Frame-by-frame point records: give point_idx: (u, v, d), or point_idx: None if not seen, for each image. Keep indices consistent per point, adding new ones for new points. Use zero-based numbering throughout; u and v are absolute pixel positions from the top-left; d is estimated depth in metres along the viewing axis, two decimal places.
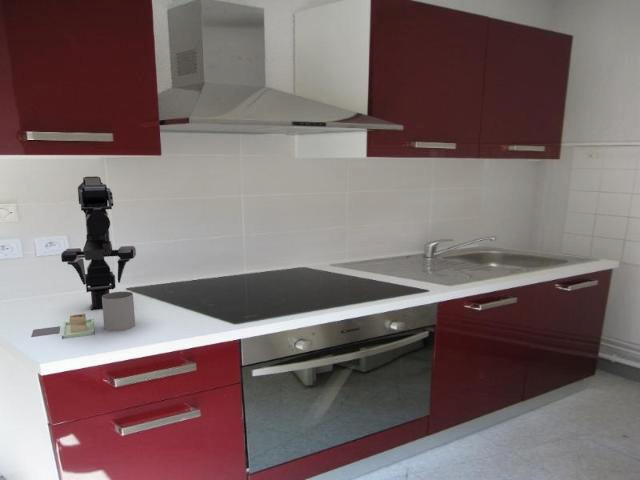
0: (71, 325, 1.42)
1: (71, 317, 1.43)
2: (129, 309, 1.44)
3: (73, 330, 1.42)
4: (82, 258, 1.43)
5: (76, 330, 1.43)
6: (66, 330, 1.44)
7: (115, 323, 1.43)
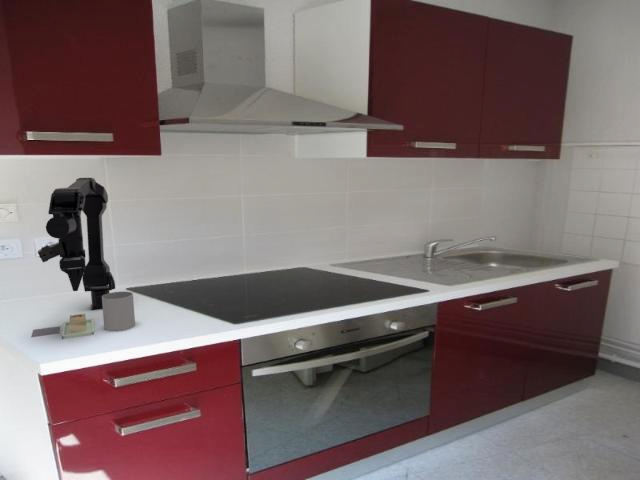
0: (71, 325, 1.42)
1: (71, 317, 1.43)
2: (129, 309, 1.44)
3: (73, 330, 1.42)
4: None
5: (76, 330, 1.43)
6: (66, 330, 1.44)
7: (115, 323, 1.43)
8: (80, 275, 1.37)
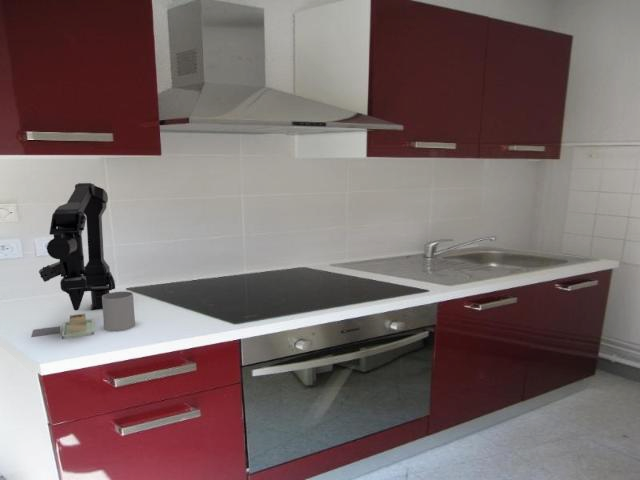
0: (71, 325, 1.42)
1: (71, 317, 1.43)
2: (129, 309, 1.44)
3: (73, 330, 1.42)
4: None
5: (76, 330, 1.43)
6: (66, 330, 1.44)
7: (115, 323, 1.43)
8: (81, 295, 1.38)
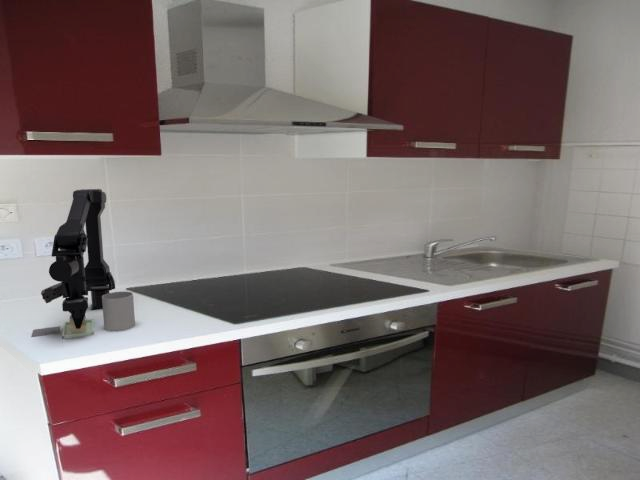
0: (71, 325, 1.42)
1: (71, 317, 1.43)
2: (129, 309, 1.44)
3: (73, 330, 1.42)
4: (87, 299, 1.47)
5: (76, 330, 1.43)
6: (66, 330, 1.44)
7: (115, 323, 1.43)
8: (83, 313, 1.41)
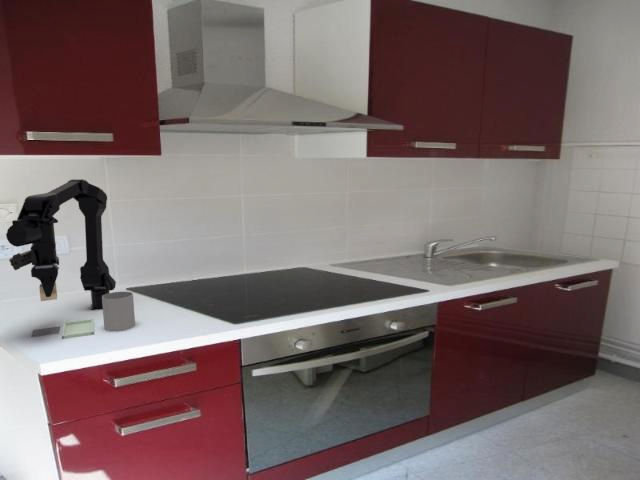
0: (41, 293, 1.39)
1: (41, 285, 1.40)
2: (129, 309, 1.44)
3: (43, 298, 1.39)
4: (57, 268, 1.44)
5: (46, 298, 1.40)
6: (66, 330, 1.44)
7: (115, 323, 1.43)
8: (53, 281, 1.38)
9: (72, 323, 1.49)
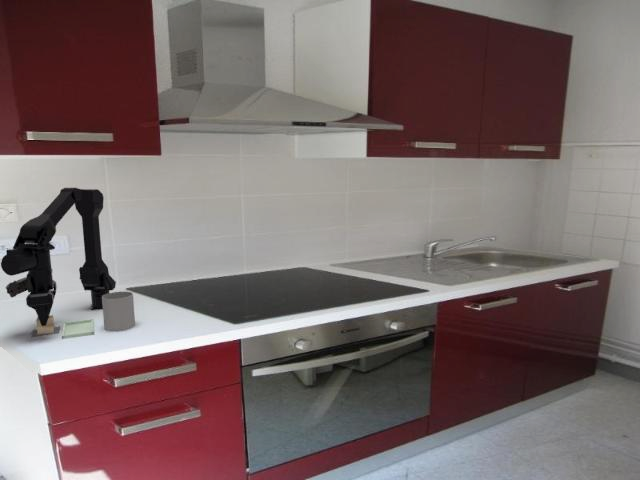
0: (38, 327, 1.41)
1: (38, 319, 1.42)
2: (129, 309, 1.44)
3: (40, 332, 1.41)
4: (55, 292, 1.48)
5: (43, 332, 1.41)
6: (66, 330, 1.44)
7: (115, 323, 1.43)
8: (48, 310, 1.37)
9: (72, 323, 1.49)
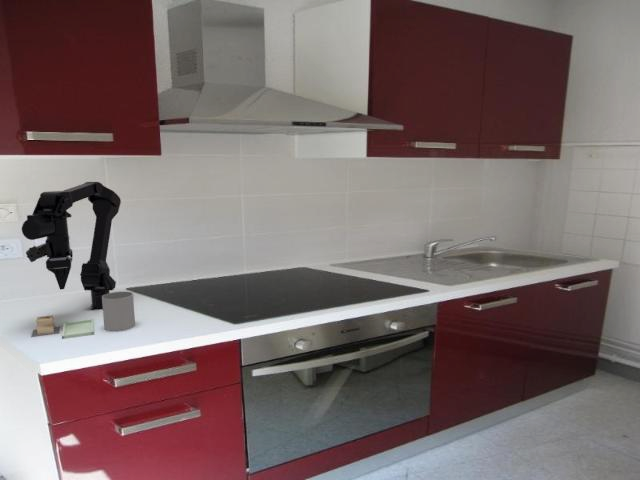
0: (38, 327, 1.41)
1: (38, 319, 1.42)
2: (129, 309, 1.44)
3: (40, 332, 1.41)
4: (71, 258, 1.55)
5: (43, 332, 1.41)
6: (66, 330, 1.44)
7: (115, 323, 1.43)
8: (66, 274, 1.44)
9: (72, 323, 1.49)
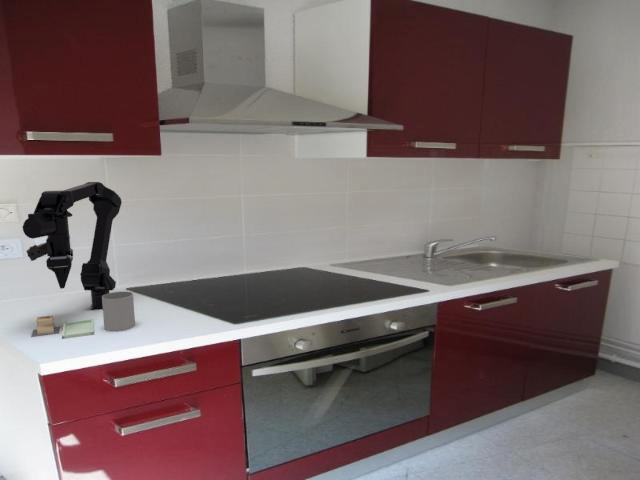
0: (38, 327, 1.41)
1: (38, 319, 1.42)
2: (129, 309, 1.44)
3: (40, 332, 1.41)
4: (71, 258, 1.55)
5: (43, 332, 1.41)
6: (66, 330, 1.44)
7: (115, 323, 1.43)
8: (66, 273, 1.44)
9: (72, 323, 1.49)
